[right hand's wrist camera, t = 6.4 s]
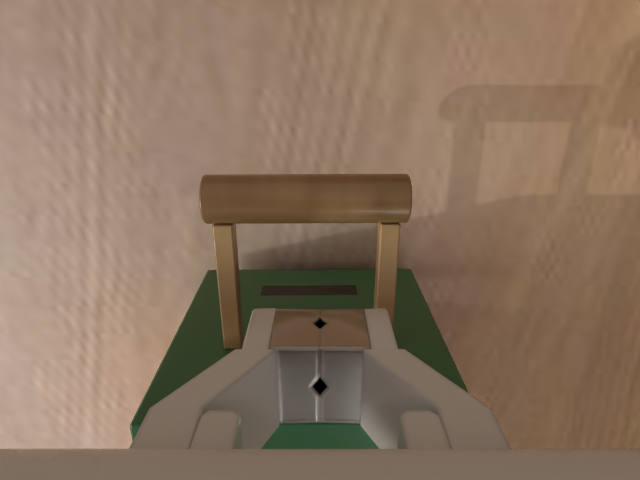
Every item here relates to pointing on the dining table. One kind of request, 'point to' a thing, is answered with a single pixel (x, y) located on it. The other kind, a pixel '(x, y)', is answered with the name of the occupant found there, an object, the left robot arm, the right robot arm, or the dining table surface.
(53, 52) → the dining table surface
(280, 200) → the drawer
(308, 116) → the dining table surface
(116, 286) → the dining table surface
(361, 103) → the dining table surface
